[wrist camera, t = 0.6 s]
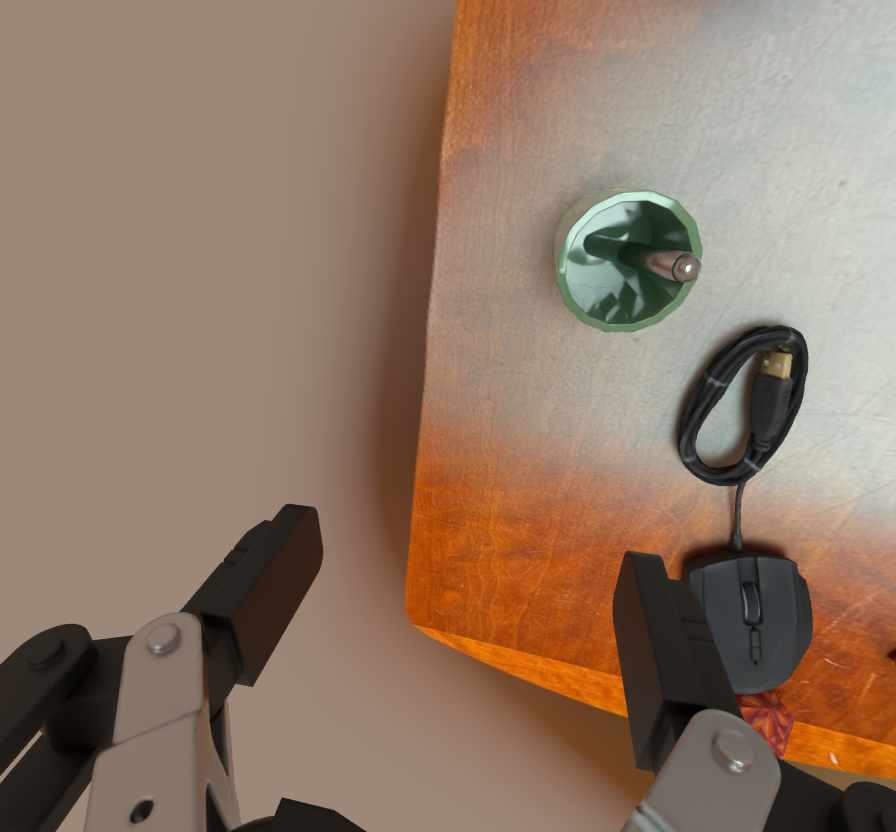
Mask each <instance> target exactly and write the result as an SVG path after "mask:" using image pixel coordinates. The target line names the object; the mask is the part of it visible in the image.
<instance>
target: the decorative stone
mask: <svg viewBox="0 0 896 832" xmlns="http://www.w3.org/2000/svg"><path fill="white" fill-rule="evenodd" d="M735 697H736V700H737V702H738V705H739V708H740V710H741V713H742V715H743V717H744V719H745V721H746V722H747V723H748V724H749V725H750V726H752V727H753V728H754V729H755V730H756V731H757V732H758V733H759V734H760V735H761V736H762V737H763V738H764V739H765V741H766V742H767V743H768V745H769V746H770V748H771V749H772V751H773V753H774V754H775V755H776V756H778V757H779V758H781V759H783V756H784V753H785V749H786V746H787V743H788V739H789V736H790V733H791V730H792V726H793V723H794V722H793V719H792V716H791V714H790V713H789V712H788V710H787V709H786V708H785V706H784V705H783V704H782V702H781V701H780V700H779V698H778V697H777V696H776V694H775V693H774V692H773V690H769V691H765V692H762V693H756V694H747V695H745V694H735Z"/></svg>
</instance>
